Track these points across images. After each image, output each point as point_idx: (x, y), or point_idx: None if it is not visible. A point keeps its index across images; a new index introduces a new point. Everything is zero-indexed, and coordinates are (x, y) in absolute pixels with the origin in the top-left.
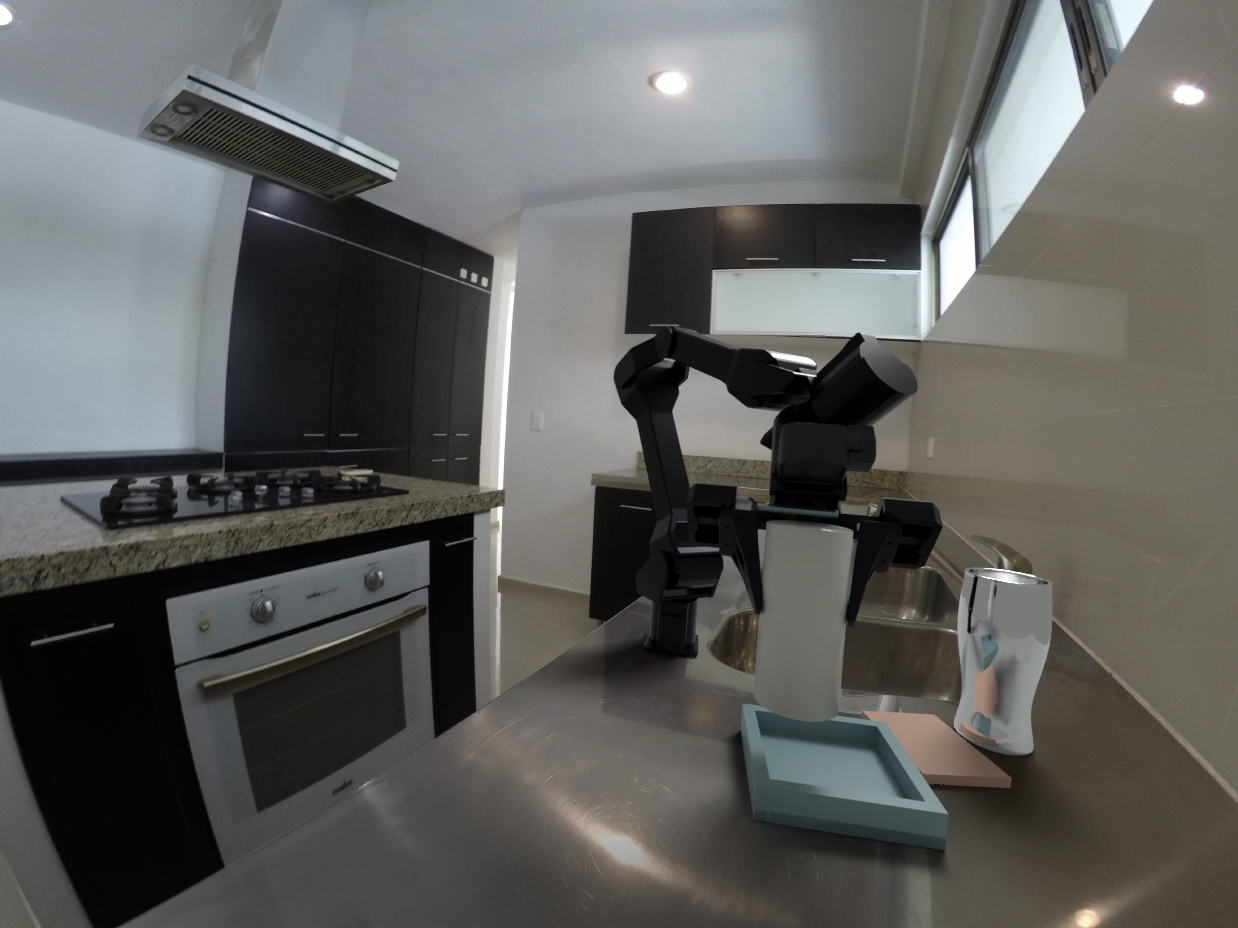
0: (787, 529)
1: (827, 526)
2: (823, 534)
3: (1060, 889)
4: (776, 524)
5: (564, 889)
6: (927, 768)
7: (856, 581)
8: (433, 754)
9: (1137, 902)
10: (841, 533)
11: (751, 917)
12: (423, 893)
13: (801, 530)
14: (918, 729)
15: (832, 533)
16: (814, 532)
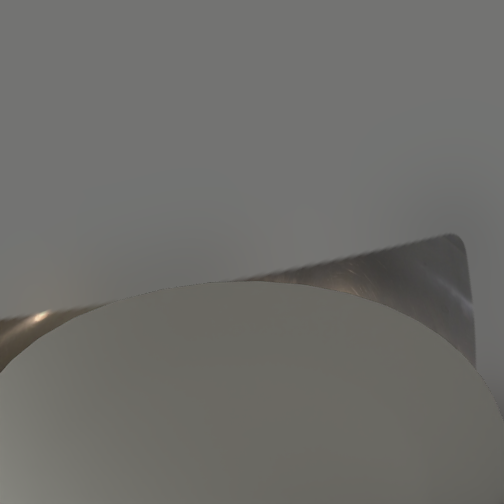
0: (440, 341)
1: None
2: (203, 284)
3: (40, 336)
4: (482, 491)
5: (364, 271)
6: None
7: None
8: (474, 353)
9: (7, 329)
10: (43, 352)
11: (258, 276)
12: (415, 255)
13: (367, 335)
14: None
15: (121, 312)
16: (275, 283)
